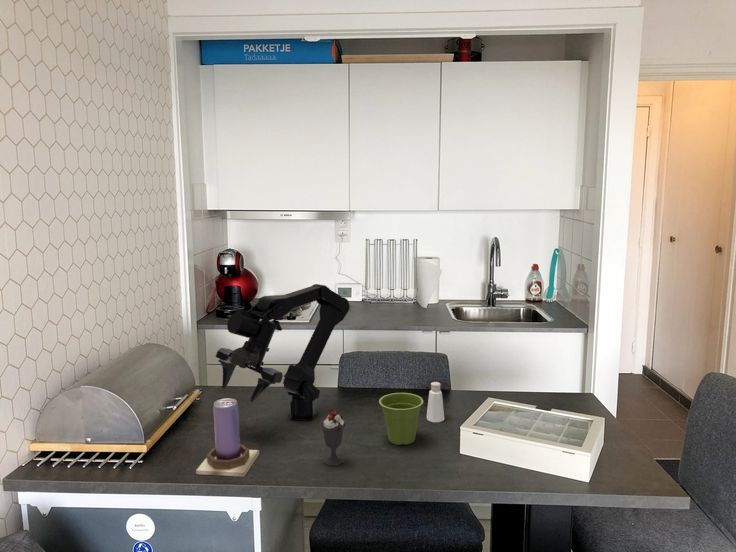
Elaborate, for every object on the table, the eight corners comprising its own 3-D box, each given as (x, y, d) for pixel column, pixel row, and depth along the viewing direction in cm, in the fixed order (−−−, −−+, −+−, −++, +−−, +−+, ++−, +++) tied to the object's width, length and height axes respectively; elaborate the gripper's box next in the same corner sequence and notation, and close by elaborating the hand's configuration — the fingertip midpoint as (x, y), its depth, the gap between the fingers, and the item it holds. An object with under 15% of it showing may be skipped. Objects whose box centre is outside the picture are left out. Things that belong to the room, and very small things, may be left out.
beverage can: (239, 464, 149) (236, 406, 146) (214, 465, 148) (211, 407, 146) (242, 453, 155) (239, 397, 152) (218, 454, 154) (215, 398, 152)
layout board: (259, 453, 157) (258, 442, 156) (244, 476, 145) (243, 465, 144) (214, 451, 158) (214, 440, 158) (196, 474, 146) (195, 462, 146)
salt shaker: (423, 421, 176) (424, 385, 174) (429, 414, 181) (429, 379, 179) (441, 423, 174) (442, 387, 172) (446, 416, 179) (447, 381, 177)
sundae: (327, 470, 148) (325, 412, 145) (316, 458, 154) (314, 402, 151) (351, 463, 151) (350, 406, 148) (340, 453, 157) (338, 398, 154)
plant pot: (387, 428, 171) (386, 390, 169) (427, 433, 167) (428, 395, 165) (373, 446, 160) (373, 405, 158) (416, 452, 156) (416, 411, 154)
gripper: (216, 326, 160) (193, 381, 159) (275, 352, 155) (252, 409, 154) (236, 329, 171) (215, 381, 170) (292, 354, 165) (271, 408, 164)
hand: (237, 394), depth 164 cm, fingers open, 9 cm apart
